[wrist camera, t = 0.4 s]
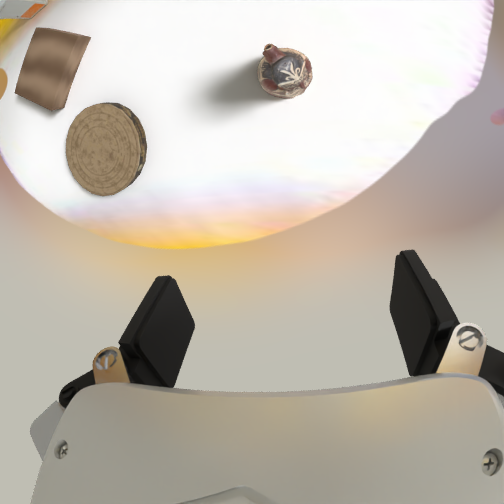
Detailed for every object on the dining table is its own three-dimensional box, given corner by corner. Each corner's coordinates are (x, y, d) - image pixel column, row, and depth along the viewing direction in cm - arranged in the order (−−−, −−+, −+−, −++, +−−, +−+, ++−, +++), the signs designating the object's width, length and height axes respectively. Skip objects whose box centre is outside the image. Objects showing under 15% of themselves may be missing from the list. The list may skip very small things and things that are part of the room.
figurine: (275, 107, 34) (271, 110, 24) (248, 66, 31) (232, 53, 21) (320, 84, 31) (335, 78, 21) (293, 43, 29) (296, 20, 18)
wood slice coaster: (71, 174, 43) (61, 179, 40) (85, 94, 34) (74, 96, 32) (136, 202, 45) (128, 209, 42) (159, 115, 36) (150, 117, 34)
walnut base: (49, 28, 26) (36, 27, 23) (92, 37, 29) (78, 35, 25) (28, 90, 33) (14, 93, 30) (65, 107, 36) (51, 110, 32)
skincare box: (30, 19, 23) (-11, 20, 13) (30, 6, 21) (-9, 5, 11) (48, 3, 22) (6, 0, 12) (48, -10, 20) (8, -15, 10)
